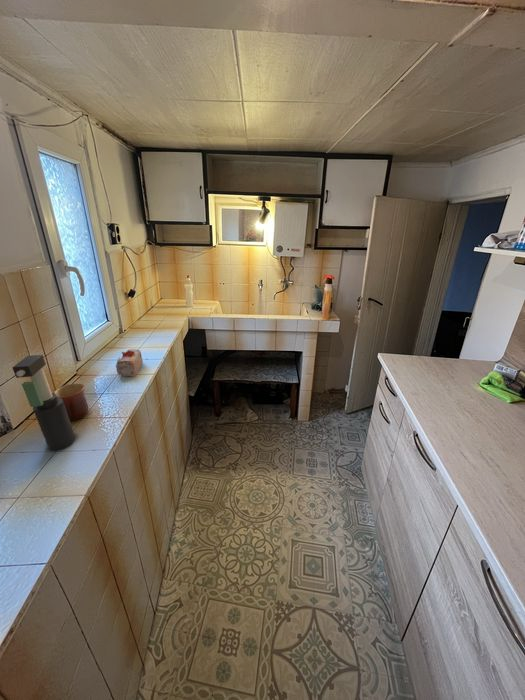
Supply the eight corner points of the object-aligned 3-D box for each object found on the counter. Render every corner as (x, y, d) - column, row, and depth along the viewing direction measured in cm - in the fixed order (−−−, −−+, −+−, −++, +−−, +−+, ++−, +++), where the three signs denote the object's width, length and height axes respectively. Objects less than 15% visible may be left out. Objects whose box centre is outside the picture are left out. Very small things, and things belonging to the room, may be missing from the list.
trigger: (41, 405, 75) (33, 383, 72) (30, 407, 75) (21, 384, 72) (43, 403, 76) (35, 381, 73) (33, 404, 76) (24, 382, 73)
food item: (136, 378, 122) (132, 357, 118) (117, 379, 121) (112, 358, 117) (144, 364, 135) (141, 345, 131) (127, 364, 134) (123, 345, 130)
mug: (94, 415, 98) (87, 390, 94) (65, 426, 93) (55, 400, 89) (86, 401, 106) (79, 377, 102) (59, 410, 101) (50, 385, 97)
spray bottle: (66, 455, 81) (33, 367, 70) (38, 458, 80) (1, 370, 68) (79, 433, 90) (52, 351, 78) (54, 435, 89) (23, 354, 77)
